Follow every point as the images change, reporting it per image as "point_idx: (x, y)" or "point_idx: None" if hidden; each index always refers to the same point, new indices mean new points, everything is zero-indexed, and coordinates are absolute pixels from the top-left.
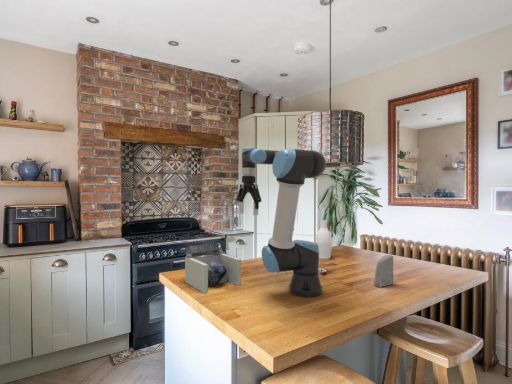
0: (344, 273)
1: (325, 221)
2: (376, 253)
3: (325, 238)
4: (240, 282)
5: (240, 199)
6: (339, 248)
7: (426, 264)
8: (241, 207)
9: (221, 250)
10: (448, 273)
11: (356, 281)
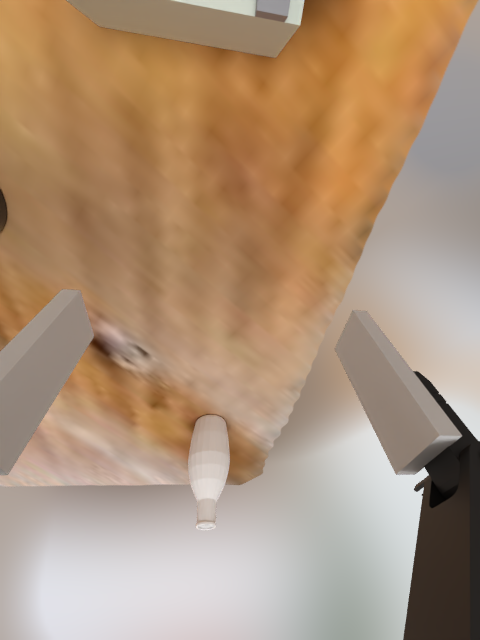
0: (79, 373)
1: (196, 524)
2: (173, 481)
3: (192, 467)
4: (94, 21)
5: (464, 493)
6: (243, 473)
7: (72, 477)
8: (373, 377)
9: (276, 6)
10: None
11: None
